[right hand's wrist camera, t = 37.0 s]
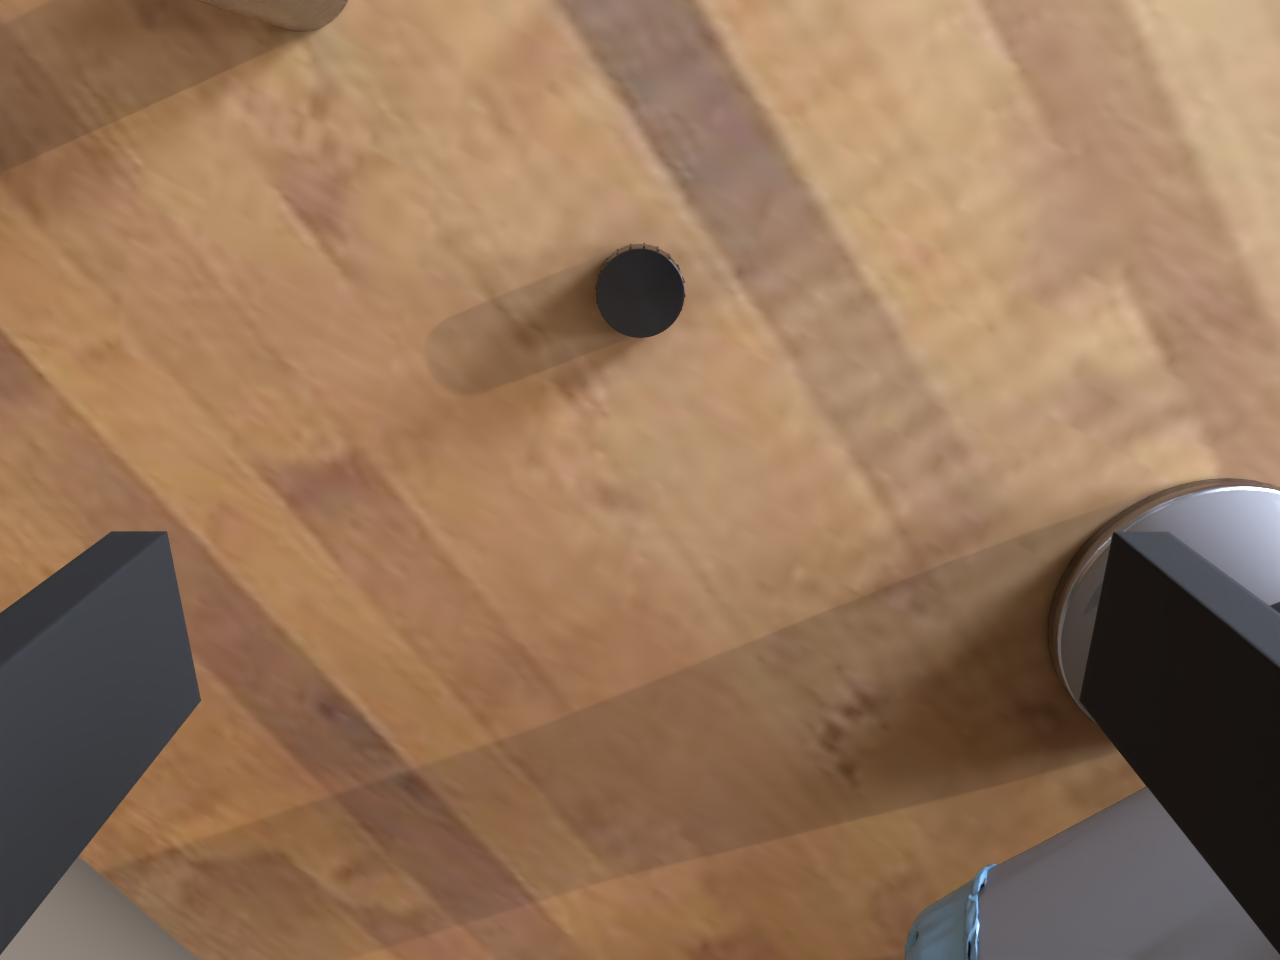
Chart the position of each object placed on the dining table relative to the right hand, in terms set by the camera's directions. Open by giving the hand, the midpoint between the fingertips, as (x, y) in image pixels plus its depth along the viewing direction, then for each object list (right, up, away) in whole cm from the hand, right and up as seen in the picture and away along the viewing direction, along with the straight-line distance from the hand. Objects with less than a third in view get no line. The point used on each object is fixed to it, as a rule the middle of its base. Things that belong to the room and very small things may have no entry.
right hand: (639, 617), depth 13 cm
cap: (0, +10, +28) cm, 29 cm away
